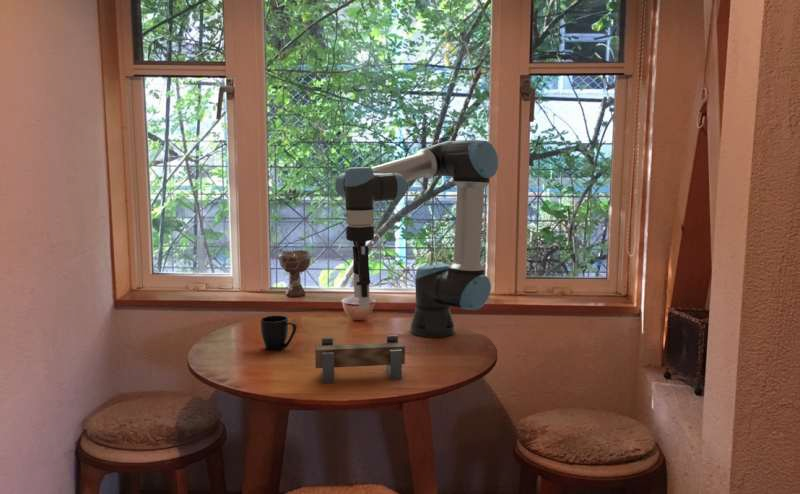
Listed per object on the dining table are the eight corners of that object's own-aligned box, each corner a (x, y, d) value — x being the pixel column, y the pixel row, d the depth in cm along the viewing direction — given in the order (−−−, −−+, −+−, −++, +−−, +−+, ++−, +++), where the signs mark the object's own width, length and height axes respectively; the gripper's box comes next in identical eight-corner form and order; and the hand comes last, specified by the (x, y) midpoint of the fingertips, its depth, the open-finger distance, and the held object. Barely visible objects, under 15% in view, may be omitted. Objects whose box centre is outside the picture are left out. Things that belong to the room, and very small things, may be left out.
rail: (402, 359, 174) (402, 342, 173) (404, 364, 170) (404, 346, 169) (315, 363, 170) (315, 345, 170) (315, 368, 166) (315, 350, 166)
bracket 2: (397, 369, 176) (397, 334, 175) (401, 379, 168) (401, 343, 167) (386, 369, 176) (386, 335, 174) (390, 380, 168) (390, 343, 166)
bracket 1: (333, 372, 174) (332, 337, 172) (334, 382, 165) (333, 346, 164) (322, 372, 173) (321, 337, 172) (322, 383, 165) (322, 346, 164)
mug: (287, 355, 188) (286, 324, 187) (256, 349, 194) (255, 320, 193) (303, 348, 196) (302, 318, 194) (273, 343, 201) (272, 314, 200)
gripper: (342, 220, 179) (344, 293, 182) (350, 231, 155) (352, 314, 158) (368, 219, 180) (370, 291, 184) (380, 230, 156) (381, 313, 159)
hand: (361, 302), depth 171 cm, fingers open, 13 cm apart
